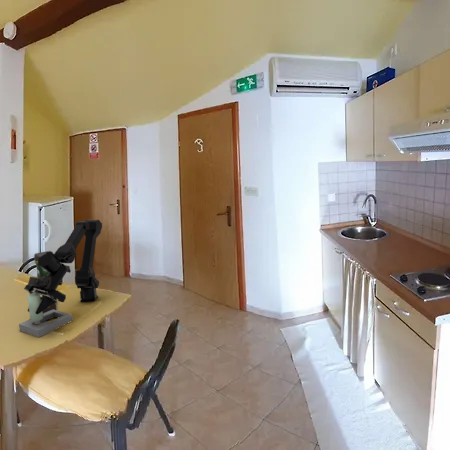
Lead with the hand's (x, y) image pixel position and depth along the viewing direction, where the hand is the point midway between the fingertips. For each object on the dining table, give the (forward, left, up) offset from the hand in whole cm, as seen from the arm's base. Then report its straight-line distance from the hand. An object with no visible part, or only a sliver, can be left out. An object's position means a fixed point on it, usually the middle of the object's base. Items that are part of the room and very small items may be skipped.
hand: (32, 312), depth 132 cm
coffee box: (+9, -29, -5) cm, 31 cm away
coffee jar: (+19, -53, -8) cm, 57 cm away
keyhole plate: (-3, -4, -8) cm, 9 cm away
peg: (-1, -1, -7) cm, 7 cm away
